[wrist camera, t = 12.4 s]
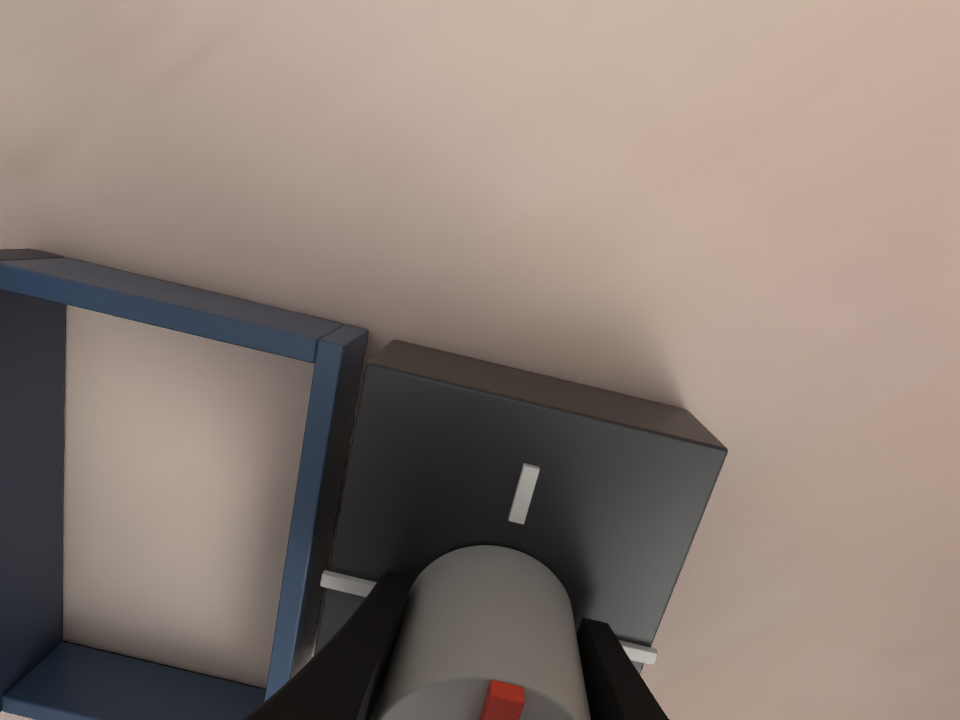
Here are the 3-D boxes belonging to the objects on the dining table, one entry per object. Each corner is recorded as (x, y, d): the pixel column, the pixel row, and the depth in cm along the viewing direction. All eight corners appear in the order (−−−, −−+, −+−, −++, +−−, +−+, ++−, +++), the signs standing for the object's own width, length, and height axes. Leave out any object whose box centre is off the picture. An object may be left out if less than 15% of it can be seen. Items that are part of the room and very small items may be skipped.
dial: (547, 699, 12) (564, 898, 9) (392, 662, 12) (342, 846, 9) (593, 566, 11) (634, 727, 8) (423, 526, 11) (382, 667, 8)
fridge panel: (577, 725, 16) (590, 822, 13) (327, 665, 16) (291, 751, 13) (692, 410, 13) (738, 454, 10) (388, 337, 13) (358, 363, 10)
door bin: (32, 648, 16) (-144, 801, 12) (30, 248, 13) (-218, 254, 8) (301, 711, 16) (224, 888, 12) (368, 329, 13) (296, 377, 8)
